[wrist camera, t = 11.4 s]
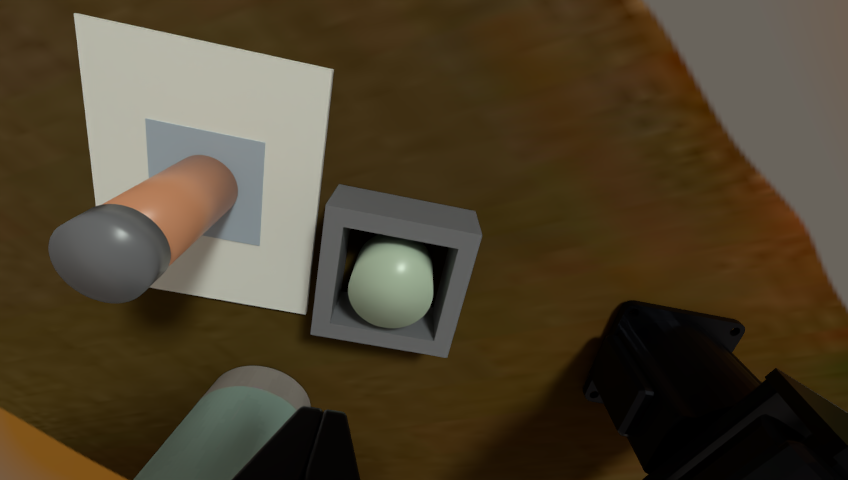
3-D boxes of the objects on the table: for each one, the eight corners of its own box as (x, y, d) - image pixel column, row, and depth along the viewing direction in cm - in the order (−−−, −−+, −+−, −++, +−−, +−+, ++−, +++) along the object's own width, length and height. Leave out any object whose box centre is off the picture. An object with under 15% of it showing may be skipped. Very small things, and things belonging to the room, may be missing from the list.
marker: (235, 156, 19) (139, 224, 12) (241, 218, 20) (157, 306, 14) (167, 150, 18) (35, 215, 12) (178, 212, 20) (63, 299, 14)
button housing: (475, 211, 20) (482, 235, 17) (444, 322, 23) (447, 357, 20) (338, 184, 20) (325, 204, 17) (323, 301, 22) (310, 334, 20)
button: (440, 239, 20) (441, 263, 18) (424, 304, 21) (423, 334, 19) (362, 224, 19) (354, 247, 17) (351, 291, 21) (342, 320, 19)
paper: (334, 69, 18) (332, 69, 17) (306, 311, 22) (305, 315, 22) (79, 13, 17) (72, 13, 16) (108, 276, 22) (103, 280, 21)
